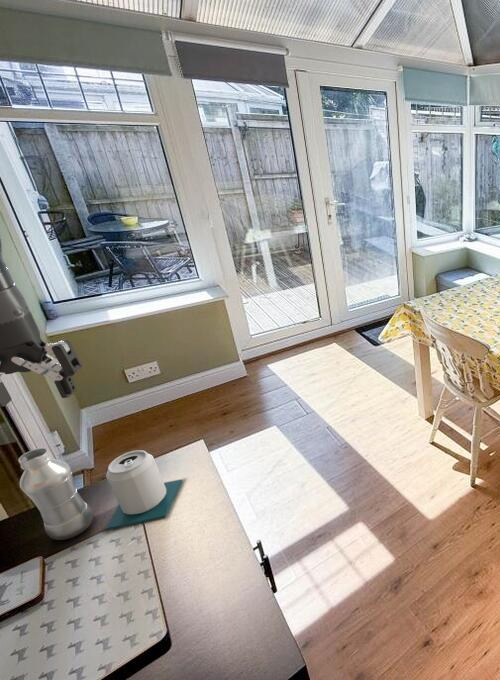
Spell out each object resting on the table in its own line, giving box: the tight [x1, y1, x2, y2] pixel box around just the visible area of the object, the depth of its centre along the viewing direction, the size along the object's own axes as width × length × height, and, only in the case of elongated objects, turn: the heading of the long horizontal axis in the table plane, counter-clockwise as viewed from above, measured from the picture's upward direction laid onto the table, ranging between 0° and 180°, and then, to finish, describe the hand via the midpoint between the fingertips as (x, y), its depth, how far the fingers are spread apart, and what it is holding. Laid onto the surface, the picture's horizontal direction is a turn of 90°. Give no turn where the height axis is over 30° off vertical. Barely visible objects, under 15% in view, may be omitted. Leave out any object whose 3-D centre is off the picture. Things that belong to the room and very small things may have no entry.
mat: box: [105, 479, 183, 531], centre depth 89 cm, size 10×10×1 cm
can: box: [105, 449, 166, 514], centre depth 87 cm, size 8×8×12 cm
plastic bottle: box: [18, 447, 94, 541], centre depth 79 cm, size 6×7×20 cm
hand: (37, 399), depth 71 cm, fingers open, 8 cm apart
